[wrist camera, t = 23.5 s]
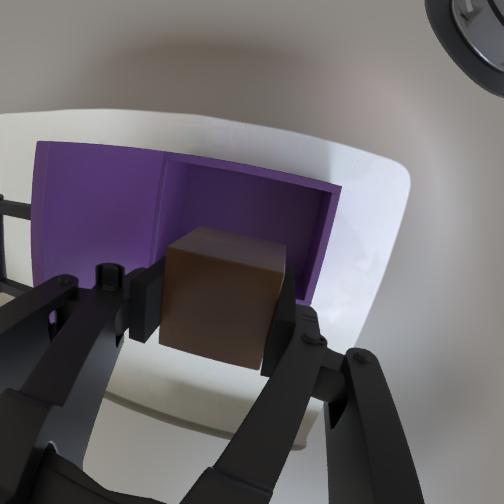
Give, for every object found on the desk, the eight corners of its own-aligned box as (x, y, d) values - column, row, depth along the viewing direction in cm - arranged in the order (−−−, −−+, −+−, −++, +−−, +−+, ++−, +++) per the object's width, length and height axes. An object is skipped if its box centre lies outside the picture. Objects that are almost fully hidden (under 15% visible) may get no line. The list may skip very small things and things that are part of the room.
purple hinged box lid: (49, 141, 9) (-43, 142, 9) (61, 385, 13) (-25, 342, 12) (164, 151, 27) (96, 144, 27) (148, 271, 31) (86, 257, 30)
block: (286, 244, 17) (285, 273, 12) (266, 322, 18) (259, 371, 13) (200, 225, 17) (166, 245, 12) (188, 302, 18) (158, 344, 14)
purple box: (330, 183, 34) (342, 186, 26) (305, 282, 37) (309, 309, 30) (187, 154, 35) (162, 151, 28) (172, 251, 39) (146, 269, 31)
